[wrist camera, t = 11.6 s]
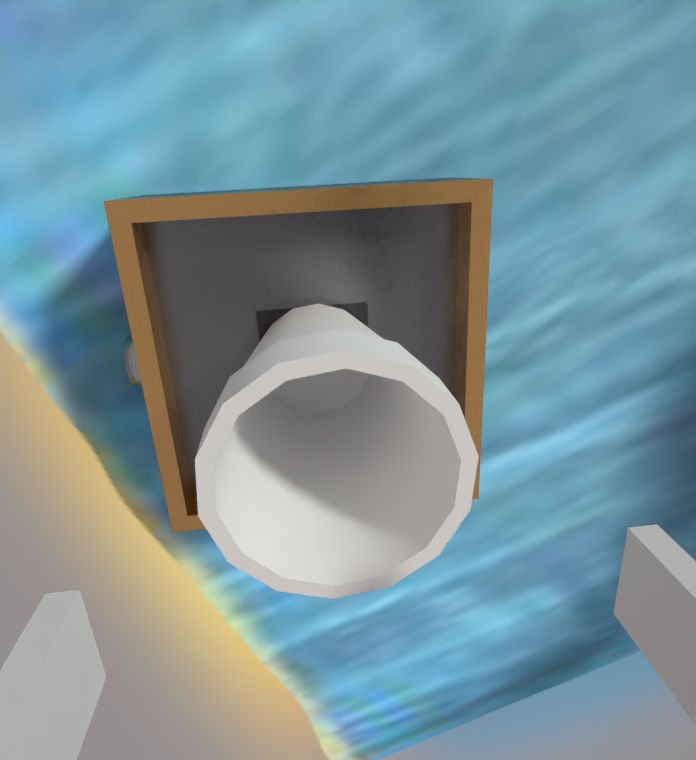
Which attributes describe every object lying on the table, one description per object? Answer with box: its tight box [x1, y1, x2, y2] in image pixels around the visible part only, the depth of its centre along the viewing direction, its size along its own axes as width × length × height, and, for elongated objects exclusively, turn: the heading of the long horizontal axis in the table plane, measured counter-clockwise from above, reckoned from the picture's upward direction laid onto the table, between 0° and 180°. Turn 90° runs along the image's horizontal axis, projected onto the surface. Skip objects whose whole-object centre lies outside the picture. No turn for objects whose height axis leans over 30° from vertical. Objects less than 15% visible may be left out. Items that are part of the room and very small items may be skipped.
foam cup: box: [195, 303, 479, 599], centre depth 24 cm, size 10×9×13 cm
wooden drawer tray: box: [104, 178, 493, 533], centre depth 31 cm, size 20×18×7 cm
